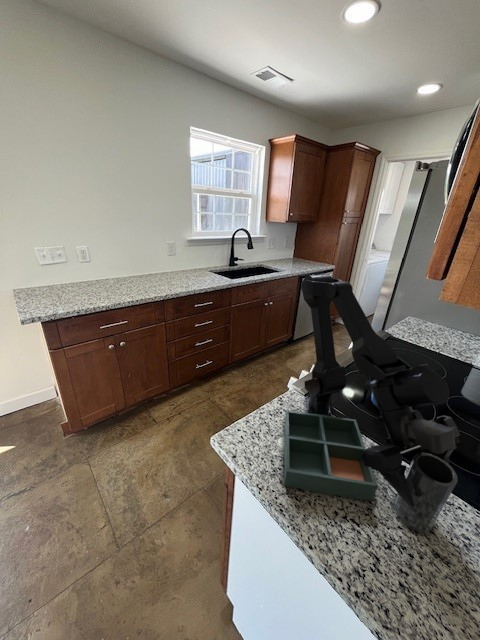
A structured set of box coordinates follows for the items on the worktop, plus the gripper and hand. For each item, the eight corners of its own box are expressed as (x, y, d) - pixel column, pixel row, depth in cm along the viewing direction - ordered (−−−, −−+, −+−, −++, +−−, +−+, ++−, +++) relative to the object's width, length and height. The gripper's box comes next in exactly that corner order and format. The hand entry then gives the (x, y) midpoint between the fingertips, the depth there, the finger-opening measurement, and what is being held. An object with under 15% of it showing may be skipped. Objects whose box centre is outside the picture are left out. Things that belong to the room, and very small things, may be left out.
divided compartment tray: (284, 423, 72) (286, 410, 70) (352, 432, 69) (356, 419, 68) (284, 486, 56) (286, 471, 54) (372, 501, 53) (377, 486, 52)
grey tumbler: (389, 494, 55) (407, 450, 50) (422, 500, 54) (444, 455, 49) (401, 529, 49) (423, 482, 44) (439, 536, 48) (466, 489, 43)
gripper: (390, 417, 42) (435, 532, 37) (467, 394, 48) (514, 490, 43) (347, 420, 52) (377, 511, 47) (415, 400, 58) (449, 479, 53)
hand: (430, 497), depth 48 cm, fingers open, 9 cm apart
